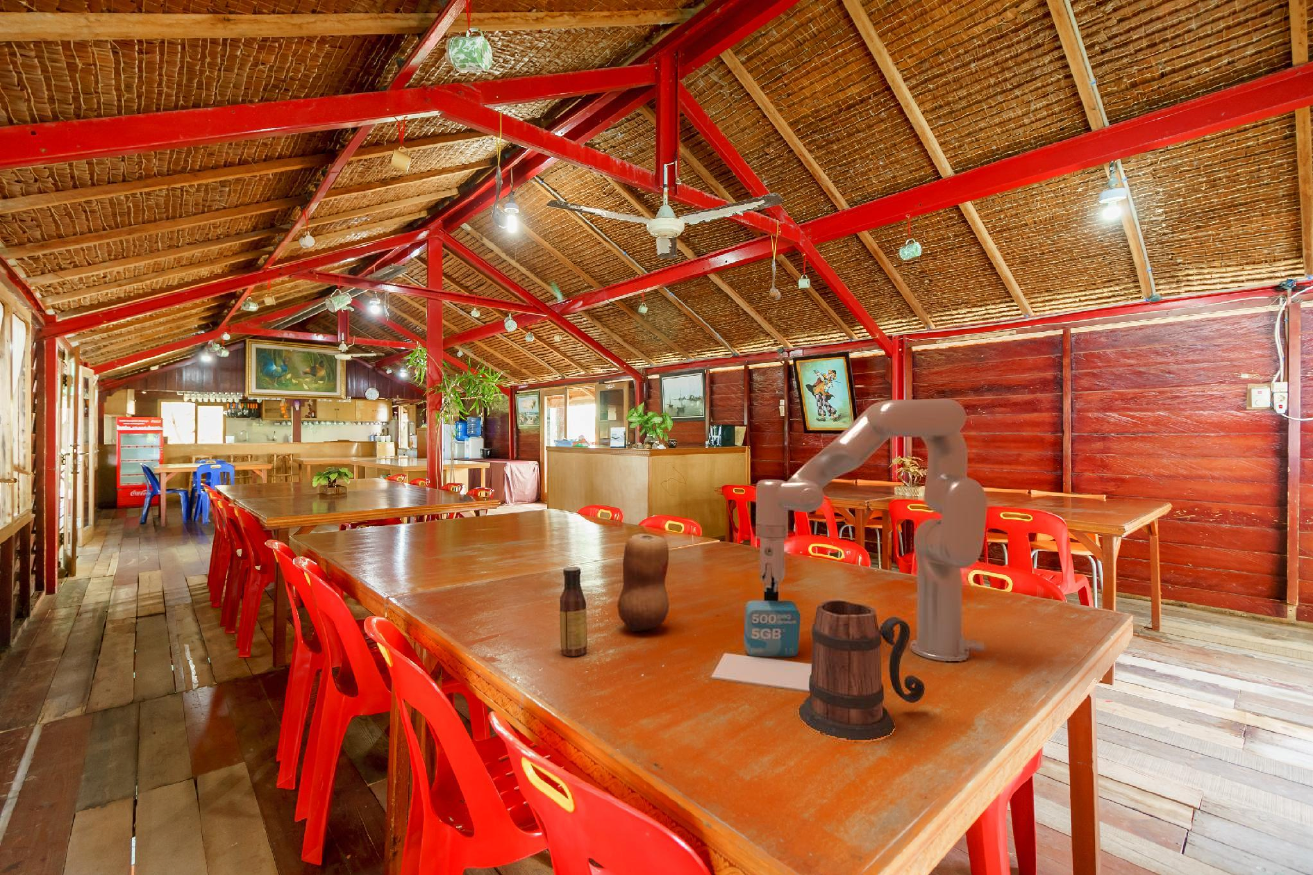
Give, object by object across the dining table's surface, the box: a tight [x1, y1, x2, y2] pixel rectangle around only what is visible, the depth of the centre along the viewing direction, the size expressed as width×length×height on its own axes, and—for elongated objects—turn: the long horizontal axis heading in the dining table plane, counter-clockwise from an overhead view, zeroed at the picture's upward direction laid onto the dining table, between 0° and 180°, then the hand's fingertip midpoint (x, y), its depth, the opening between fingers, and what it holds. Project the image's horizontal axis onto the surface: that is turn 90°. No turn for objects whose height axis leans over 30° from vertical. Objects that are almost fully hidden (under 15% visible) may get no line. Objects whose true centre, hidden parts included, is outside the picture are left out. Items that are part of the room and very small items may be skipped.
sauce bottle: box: [559, 566, 588, 657], centre depth 134 cm, size 6×6×20 cm
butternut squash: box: [616, 533, 670, 632], centre depth 151 cm, size 14×13×25 cm
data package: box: [743, 600, 801, 658], centre depth 133 cm, size 12×4×12 cm, turn 90°
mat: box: [711, 652, 812, 693], centre depth 123 cm, size 20×14×1 cm
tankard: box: [798, 599, 925, 740], centre depth 104 cm, size 24×17×20 cm
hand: (771, 607), depth 136 cm, fingers closed
